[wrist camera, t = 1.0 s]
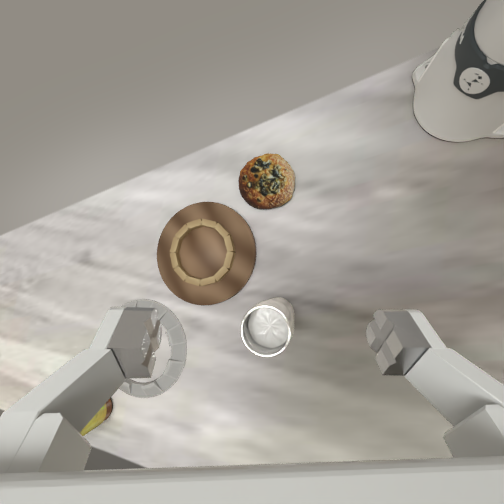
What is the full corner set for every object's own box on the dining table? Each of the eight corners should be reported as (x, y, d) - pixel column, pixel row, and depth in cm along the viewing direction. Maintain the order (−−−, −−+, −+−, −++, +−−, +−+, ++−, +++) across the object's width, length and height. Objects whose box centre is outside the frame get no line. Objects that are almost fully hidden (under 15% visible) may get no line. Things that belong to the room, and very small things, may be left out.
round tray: (208, 184, 53) (202, 178, 50) (277, 252, 49) (275, 251, 46) (143, 253, 54) (133, 252, 51) (205, 325, 50) (198, 329, 47)
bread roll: (230, 199, 51) (225, 189, 47) (254, 152, 53) (251, 137, 48) (282, 220, 49) (282, 211, 44) (305, 171, 51) (307, 156, 46)
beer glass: (253, 322, 48) (230, 343, 34) (268, 288, 48) (251, 294, 34) (287, 340, 47) (279, 369, 32) (303, 304, 47) (301, 318, 32)
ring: (184, 403, 50) (179, 408, 48) (99, 389, 54) (91, 393, 52) (190, 302, 52) (186, 303, 50) (107, 296, 56) (100, 297, 54)
